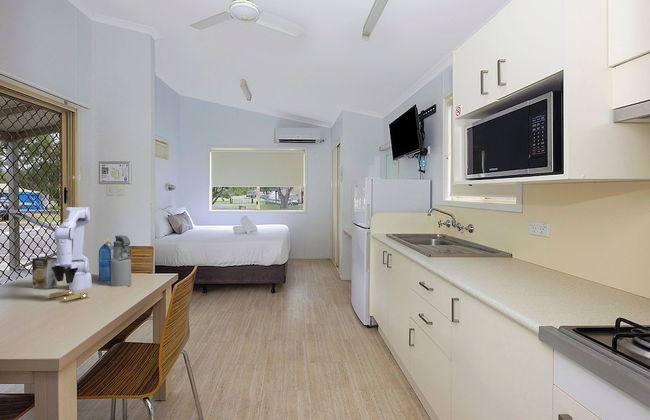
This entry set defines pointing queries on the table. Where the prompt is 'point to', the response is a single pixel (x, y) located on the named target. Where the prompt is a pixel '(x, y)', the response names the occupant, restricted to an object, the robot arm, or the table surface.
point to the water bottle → (121, 262)
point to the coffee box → (43, 272)
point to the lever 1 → (62, 293)
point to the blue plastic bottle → (105, 261)
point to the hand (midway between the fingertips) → (64, 282)
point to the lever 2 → (75, 296)
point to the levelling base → (59, 298)
